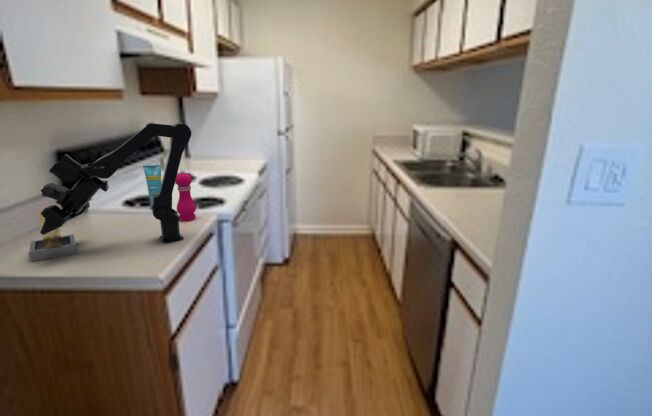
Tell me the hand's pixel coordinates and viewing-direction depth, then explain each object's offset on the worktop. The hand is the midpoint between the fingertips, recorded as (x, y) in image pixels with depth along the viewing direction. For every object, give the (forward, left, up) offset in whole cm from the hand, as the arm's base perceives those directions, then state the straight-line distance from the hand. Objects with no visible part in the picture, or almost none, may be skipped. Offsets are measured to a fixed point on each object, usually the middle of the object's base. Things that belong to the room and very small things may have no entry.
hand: (49, 228), depth 117 cm
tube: (+36, -38, -8) cm, 53 cm away
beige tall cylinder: (0, 0, -8) cm, 8 cm away
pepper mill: (+11, -44, -8) cm, 46 cm away
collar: (0, 0, -8) cm, 8 cm away
